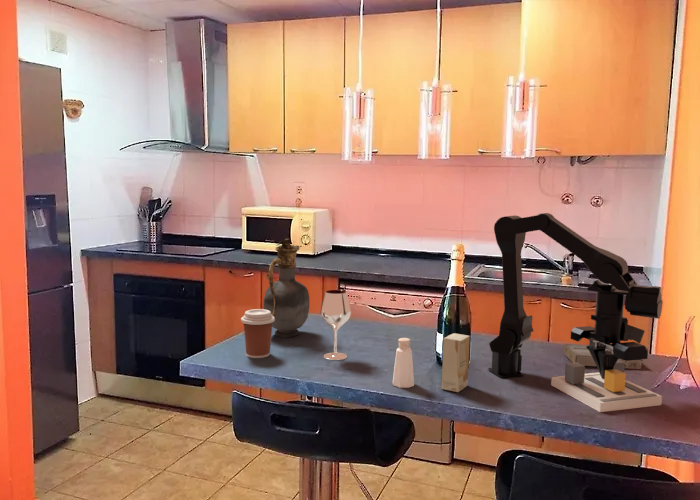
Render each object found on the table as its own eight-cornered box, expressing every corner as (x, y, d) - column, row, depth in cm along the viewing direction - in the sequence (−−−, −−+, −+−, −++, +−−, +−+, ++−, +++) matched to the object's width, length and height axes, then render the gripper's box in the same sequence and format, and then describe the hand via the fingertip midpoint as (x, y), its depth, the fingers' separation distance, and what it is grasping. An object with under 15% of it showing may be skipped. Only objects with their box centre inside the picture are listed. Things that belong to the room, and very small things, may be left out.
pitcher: (313, 330, 191) (313, 236, 187) (286, 345, 173) (286, 242, 169) (282, 326, 194) (282, 235, 191) (253, 341, 176) (252, 240, 173)
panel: (599, 412, 126) (601, 382, 125) (551, 385, 142) (552, 359, 141) (661, 404, 131) (663, 376, 130) (607, 379, 147) (609, 354, 146)
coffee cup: (265, 361, 158) (265, 316, 156) (235, 357, 161) (234, 313, 159) (280, 351, 166) (280, 309, 165) (251, 348, 169) (250, 307, 168)
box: (562, 354, 167) (563, 343, 167) (626, 357, 166) (627, 346, 166) (574, 367, 157) (575, 355, 156) (642, 370, 156) (643, 359, 155)
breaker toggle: (613, 392, 131) (614, 374, 131) (603, 387, 134) (605, 370, 134) (624, 390, 132) (625, 373, 132) (614, 386, 135) (616, 369, 135)
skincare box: (458, 393, 136) (460, 341, 135) (440, 389, 138) (442, 338, 137) (468, 385, 142) (470, 334, 140) (451, 381, 144) (453, 332, 142)
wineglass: (315, 359, 160) (315, 293, 158) (327, 351, 168) (328, 287, 166) (343, 362, 157) (344, 295, 155) (354, 354, 165) (355, 290, 163)
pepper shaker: (417, 382, 143) (419, 337, 142) (410, 389, 138) (411, 343, 137) (396, 379, 145) (397, 335, 144) (388, 386, 140) (389, 340, 139)
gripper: (671, 319, 128) (665, 389, 130) (609, 301, 145) (605, 364, 147) (628, 322, 124) (623, 394, 126) (570, 304, 142) (567, 367, 144)
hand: (604, 379), depth 136 cm, fingers closed
